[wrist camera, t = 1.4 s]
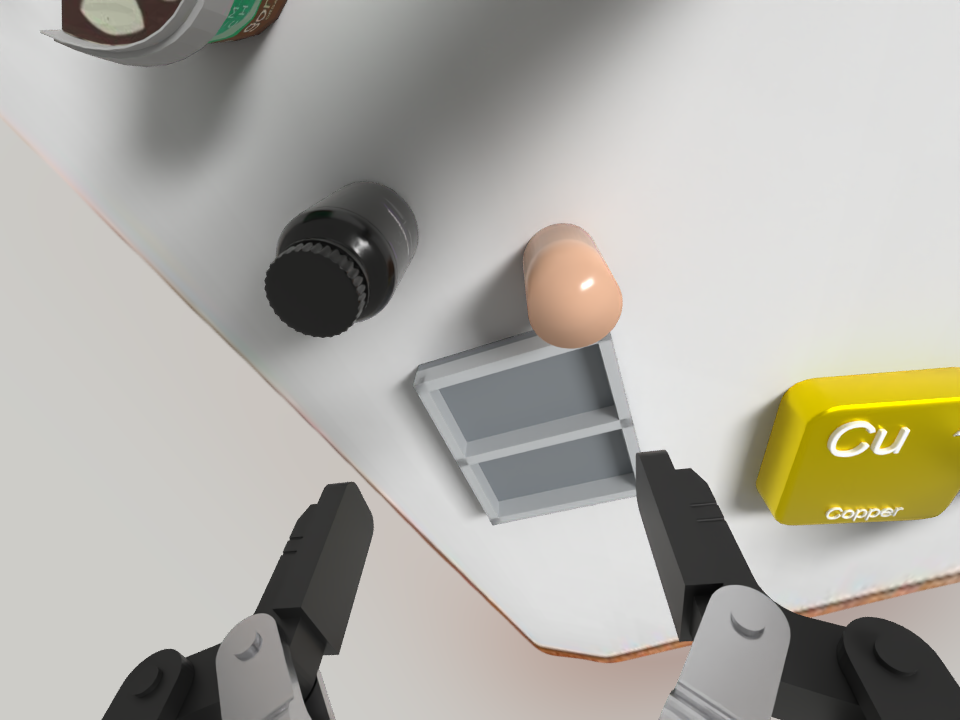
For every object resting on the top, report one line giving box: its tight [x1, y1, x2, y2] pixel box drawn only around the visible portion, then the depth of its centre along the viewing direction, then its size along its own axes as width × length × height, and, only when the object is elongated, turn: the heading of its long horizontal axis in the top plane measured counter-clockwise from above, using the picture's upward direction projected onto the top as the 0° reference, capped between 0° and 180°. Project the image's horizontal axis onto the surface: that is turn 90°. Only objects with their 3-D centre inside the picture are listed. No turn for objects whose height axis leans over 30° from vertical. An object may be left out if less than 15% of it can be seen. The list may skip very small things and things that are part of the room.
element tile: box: [756, 367, 960, 525], centre depth 39 cm, size 15×15×5 cm
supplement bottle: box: [265, 181, 418, 338], centre depth 27 cm, size 7×7×12 cm
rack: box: [413, 330, 640, 525], centre depth 40 cm, size 16×19×3 cm
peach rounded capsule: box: [523, 223, 622, 349], centre depth 29 cm, size 6×6×8 cm
